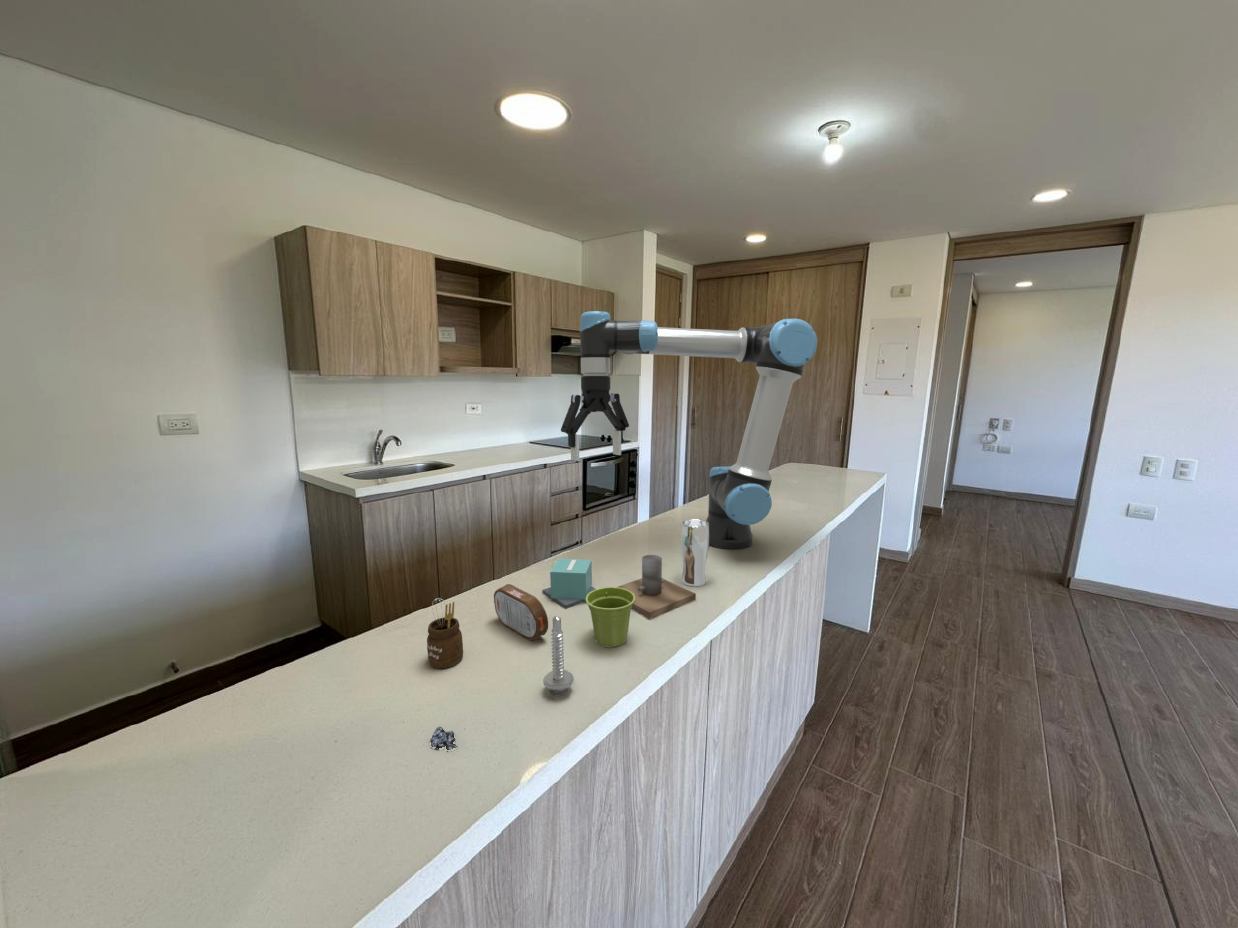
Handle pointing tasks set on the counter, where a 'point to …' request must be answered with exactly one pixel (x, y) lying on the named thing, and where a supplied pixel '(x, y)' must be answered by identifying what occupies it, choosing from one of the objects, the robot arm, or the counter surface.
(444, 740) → the grey irregular lump
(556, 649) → the screw
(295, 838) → the counter surface
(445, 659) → the utensil holder
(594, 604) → the plant pot
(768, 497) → the robot arm
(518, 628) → the tin
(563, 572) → the striped light blue box
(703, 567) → the beer glass
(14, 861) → the counter surface
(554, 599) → the mat
